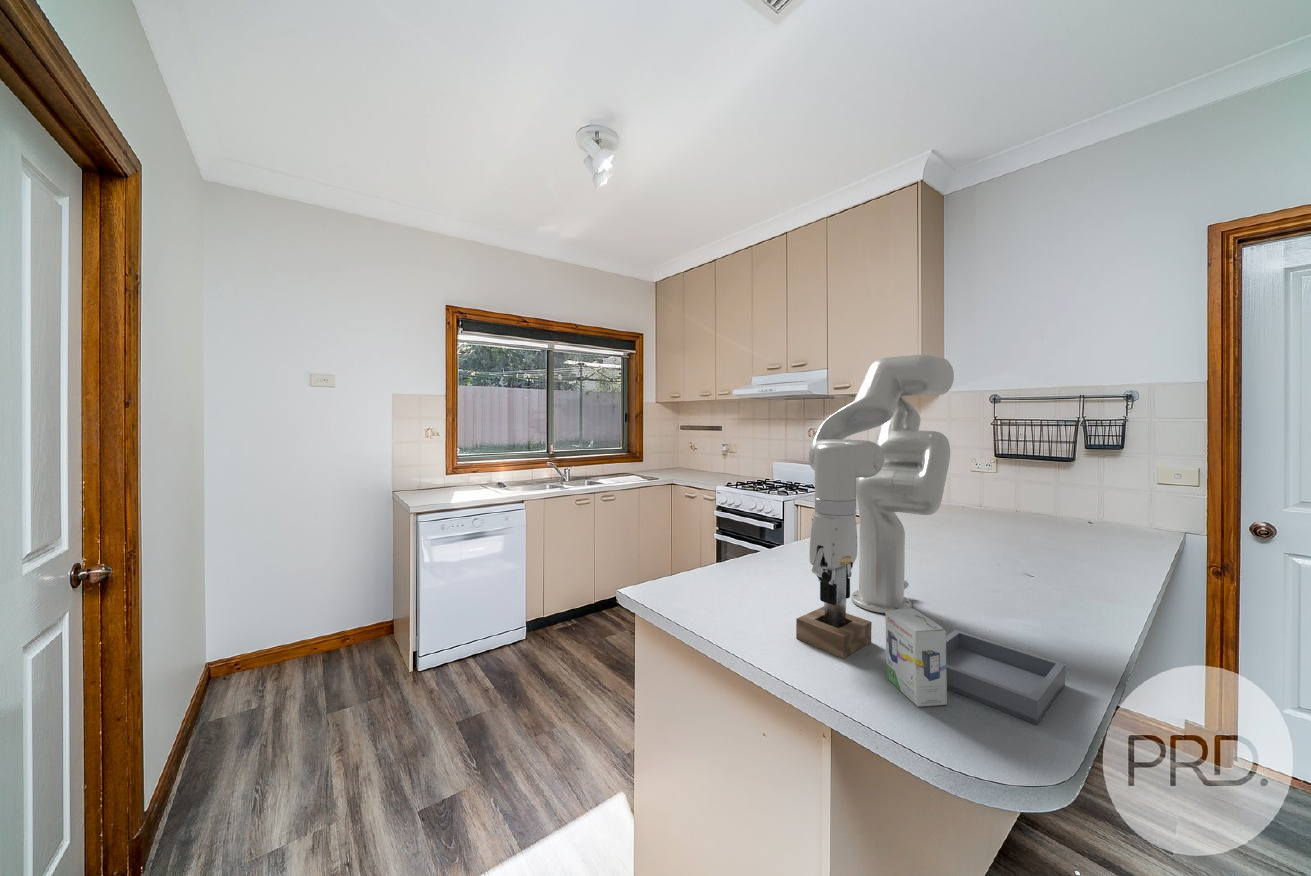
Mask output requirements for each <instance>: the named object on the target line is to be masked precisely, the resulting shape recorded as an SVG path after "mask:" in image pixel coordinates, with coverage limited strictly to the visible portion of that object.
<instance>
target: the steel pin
mask: <svg viewBox="0 0 1311 876" xmlns="http://www.w3.org/2000/svg"><path fill="white" fill-rule="evenodd" d="M849 563H851V556H850V557H847V558H844V559H842V560H841V562H840V565H843V566H841V567H838V568H836V573H835V582H834V584H837V604H836V605H831V604H828V603H825V602H823V607H824V623H825V624H828V625H831V626H833V627H836V628H841V627H843V626H845V625H846V613H847V598H846V564H849ZM825 565H826V566H828V564H827V563H825ZM825 572H827V573H828V575H829V574H830V571H828V570H825Z"/></svg>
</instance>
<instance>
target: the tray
mask: <svg viewBox="0 0 1311 876" xmlns="http://www.w3.org/2000/svg"><path fill="white" fill-rule="evenodd" d="M1066 666H1067V665H1066V663H1063V662H1060V661H1056V660H1054V659H1051V658H1047V657H1045V656H1042V655H1038V654H1035V653H1032V652H1029V651H1026V650H1022V649H1018V648H1015V647H1012V646H1010V645H1009V646H1008V645H1005V644H1002V643H1001V642H1000V643H999V642H996V641H993V640H990V639H987V638H984V637H980V636H977V635H974V634H971V633H967V632H964V631H961V630H958V629H954V630H953V631H951V632H950V633H948V634H946V678H947V690H949V691H952V692H954V693H955V694H958V695H962V696H963V697H966V698H968V699H971V700H973V701H976V702H978V703H981V704H983V705H986V706H989V707H991V708H993V709H995V710H998V711H1000V712H1003V713H1005V714H1008V715H1011V716H1012V717H1015V718H1018V719H1020V720H1022V721H1025V722H1028V723H1030V724H1032V725H1035V726H1037V725H1038V724H1039V723H1040V721H1041V720H1042V719H1043V717H1044V716H1045V714H1046V713H1047V712H1048V710H1049V708H1050V707H1051V706H1052V704H1053V703H1054V702H1055V700H1056V699H1057V697H1058V696H1059V695H1060V694H1061V692H1062V691H1063V689H1064V687H1065V686H1066Z"/></svg>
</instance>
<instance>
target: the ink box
mask: <svg viewBox="0 0 1311 876" xmlns="http://www.w3.org/2000/svg"><path fill="white" fill-rule="evenodd" d="M885 612H886V614H885V656H886V657H885V660H886V661H885V664H886V679H887V680H888V681H890V683H891V684H893V686H895V687H896V688H897V689H898V690H899V691H900V692H901V693H902V694H904V696H905V697H907V698H908V699H909V700H910V701H911V702H912V703H913V704H914V705H916V707H932V706H945V705H946V706H947V705H948V698H947V697H948V691H947V690H948V689H947V678H946V636H947V631H946V630H945V629H944V628H943V627H942V625H939V624H938V623H937V622H935V621H934V620H932V619H931V618H929V617H928V616H925V615H924V614H923V613H921V612H920V611H919V610H917V609H915V608H911V609H898V610H886V611H885Z"/></svg>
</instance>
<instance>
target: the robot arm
mask: <svg viewBox="0 0 1311 876" xmlns="http://www.w3.org/2000/svg"><path fill="white" fill-rule="evenodd" d="M954 373H955V372H954V369H953V366H952V364H951V363H950V361H948V359H946V358H944V357H938V356H935V355H931V354H915V355H914V354H911V355H902V356H890V357H883V358H879V359H877V360H875V361H874V362H872V363H871V364H870V366H869V367H868V370H867V371H866V373H865V374H864V378H863V380H862V382H861V384H860V386H859V389H858V391H857V393H856V395H855V398H854V399H853V401H852V402H849V403H848V404H846V405H845V406H843V407H841V408H840V409H838V410H837V411H836V412H834V413H833V414H831V415H829V417H826V419H825V420H824V421H823V422H822V423H821V425H819V427H818V429H817V432H815V436H814V437H813V440H812V442H811V445H810V447H809V451H808V462H809V466H810V467H811V469H812V470H813V471H814V514H813V518H812V520H811V526H810V527H811V528H810V538H809V539H810V540H809V563H810V565H812V569H811V573H813V574H814V575H815V576H816V578H818V579H817V580H818V582H819V599H820V601H821V602H822V603H824V602H825V603H828V604H831V605H836V604H837V584H834V582H835V573H836V568H838V567H841V566H843V565H840V562H841V560H842V559H844V558H847V557H850V556H851V563H849V564H846V600H847V599H850V598H851V601H852V602H853V603H854V604H855V605H856V606H858V607H860V608H862V609H864V610H867V611H871V612H873V613H880V614H885V615H886V612H885V611H886V610H898V609H913V608H912V601H911V600H909V599H908V597H905V589H908V588H909V586H910V584H909V582H908V581H907V580H905V558H906V556H905V554H906V553H905V552H906V551H905V550H906V547H905V546H906V532H905V527H904V525H903V523H902V521H901V520H900V518H899V517H898V515H897V514H896V513H905V514H911V515H920V516H921V515H922V516H931V515H934V514H935V513H937V512H938V510H939V509H940V507H941V505H942V501H943V496H944V491H945V490H944V489H945V486H946V481H947V475H948V473H949V471H948V470H949V466H950V462H951V461H950V460H951V445H950V442H949V439H948V437H947V436H946V435H945V434H944V433H942V432H940V431H936V430H920V425H921V415H920V414H919V412H918V411H917V409H916V408H915V407H914V406H913V405H912V404H911V403H910V402H909V401H907V400H906V399H905V397H910V396H911V397H913V396H914V397H915V396H917V397H918V396H941V395H945V394H946V393H948V392H949V391H950V390H951V388H952V386H953V384H954V380H955V374H954ZM877 427H879V428H878V430H877V433H876V434H877V435H876V436H875V437H876V438H875V440H874V441H872V440H865V439H863V440H861V439H847V437H850V436H852V435H855V434H859V433H861V432H862V433H863V432H865V431H868V430H872V429H874V428H877ZM857 505H858V515H859V517H858V518H859V542H858V529H857V519H856V517H857ZM858 543H859V545H858ZM858 546H859V547H858ZM858 549H859V552H858ZM858 554H859V555H858ZM857 558H858V561H859V562H858V590H855V591H854V592H852V593H851V577H852V569H853V567H854V563H855V561H856V560H857ZM825 563H827V564H828V566H826V565H825ZM825 570H828V571H830V574H829V575H828V573H827V572H825Z"/></svg>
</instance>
